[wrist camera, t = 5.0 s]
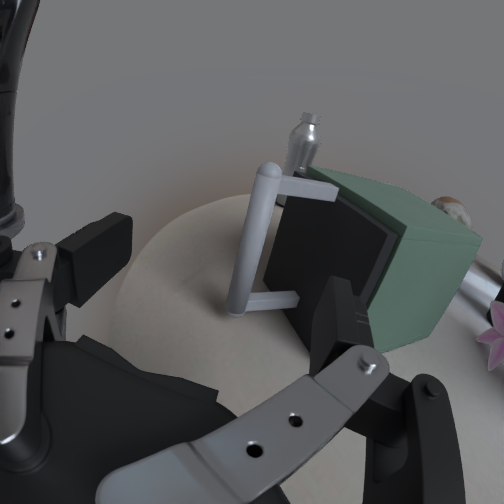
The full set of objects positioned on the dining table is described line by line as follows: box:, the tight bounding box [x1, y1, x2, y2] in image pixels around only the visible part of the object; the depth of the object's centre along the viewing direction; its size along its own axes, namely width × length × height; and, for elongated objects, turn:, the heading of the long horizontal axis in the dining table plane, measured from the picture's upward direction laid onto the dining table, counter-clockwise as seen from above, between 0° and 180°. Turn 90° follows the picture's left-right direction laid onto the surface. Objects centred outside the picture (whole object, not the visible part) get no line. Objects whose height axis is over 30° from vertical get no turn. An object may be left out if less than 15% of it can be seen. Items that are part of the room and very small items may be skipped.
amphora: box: [431, 197, 472, 229], centre depth 60 cm, size 14×16×30 cm
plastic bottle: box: [276, 112, 321, 206], centre depth 57 cm, size 6×7×20 cm
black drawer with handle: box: [226, 162, 398, 353], centre depth 28 cm, size 22×14×15 cm, turn 111°
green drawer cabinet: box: [306, 165, 483, 353], centre depth 30 cm, size 16×14×14 cm
